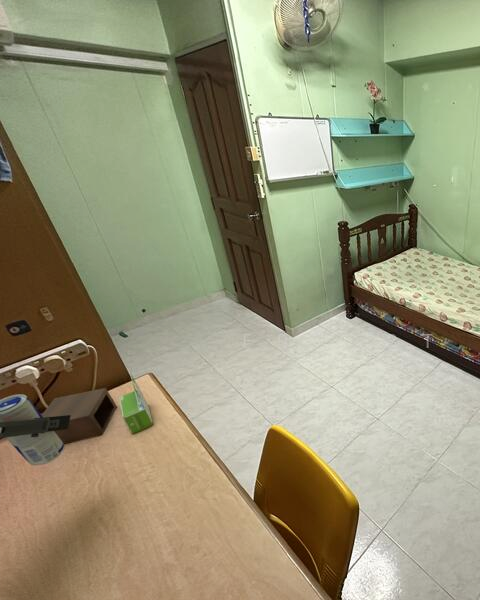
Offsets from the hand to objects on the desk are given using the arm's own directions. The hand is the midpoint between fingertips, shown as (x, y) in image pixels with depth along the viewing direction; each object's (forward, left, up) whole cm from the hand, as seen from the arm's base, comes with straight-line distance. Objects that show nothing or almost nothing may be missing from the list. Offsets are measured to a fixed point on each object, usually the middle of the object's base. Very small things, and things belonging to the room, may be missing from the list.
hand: (51, 423), depth 64 cm
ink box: (+2, +22, -24) cm, 32 cm away
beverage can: (-1, -4, -6) cm, 7 cm away
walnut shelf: (-13, +24, -24) cm, 36 cm away
